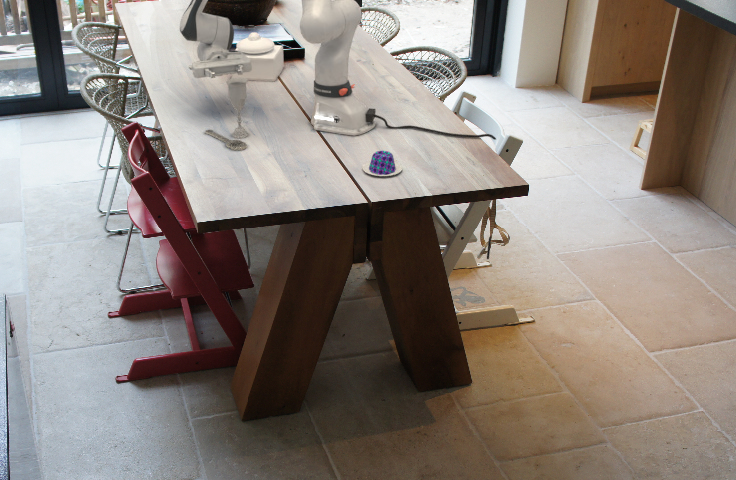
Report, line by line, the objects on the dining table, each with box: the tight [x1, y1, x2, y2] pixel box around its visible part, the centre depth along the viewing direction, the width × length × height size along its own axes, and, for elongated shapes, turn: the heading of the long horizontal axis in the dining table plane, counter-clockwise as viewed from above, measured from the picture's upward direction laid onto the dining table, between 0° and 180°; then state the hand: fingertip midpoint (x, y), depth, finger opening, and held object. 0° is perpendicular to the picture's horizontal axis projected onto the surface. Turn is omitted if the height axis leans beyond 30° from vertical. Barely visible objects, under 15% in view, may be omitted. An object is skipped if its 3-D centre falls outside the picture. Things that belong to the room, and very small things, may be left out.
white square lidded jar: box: [230, 31, 285, 82], centre depth 331 cm, size 18×18×16 cm
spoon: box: [205, 129, 247, 151], centre depth 278 cm, size 21×5×1 cm, turn 39°
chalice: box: [225, 78, 249, 139], centre depth 276 cm, size 7×7×18 cm
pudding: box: [362, 150, 403, 177], centre depth 254 cm, size 12×12×5 cm
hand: (226, 74), depth 281 cm, fingers open, 8 cm apart
